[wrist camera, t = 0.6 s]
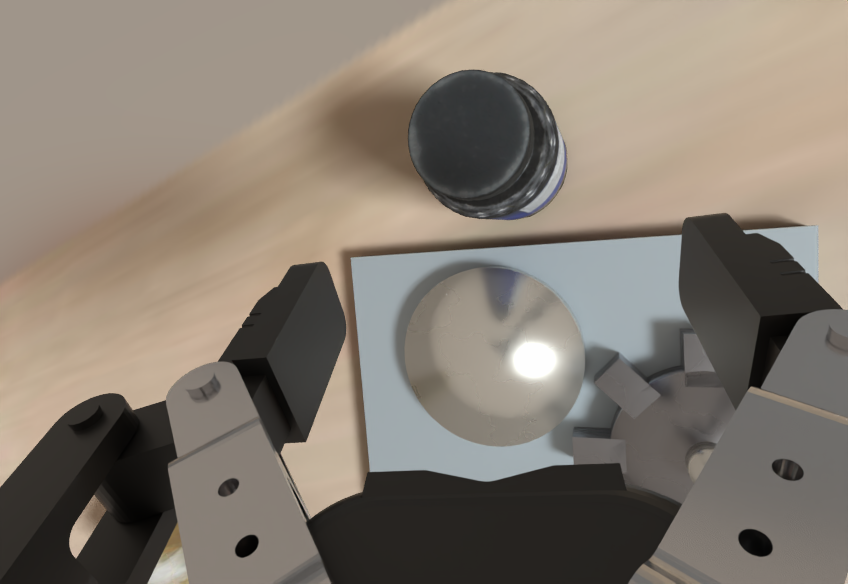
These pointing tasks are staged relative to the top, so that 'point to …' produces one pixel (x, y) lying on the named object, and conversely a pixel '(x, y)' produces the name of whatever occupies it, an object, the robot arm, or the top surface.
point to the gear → (659, 421)
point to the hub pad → (495, 356)
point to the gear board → (589, 301)
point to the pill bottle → (487, 145)
